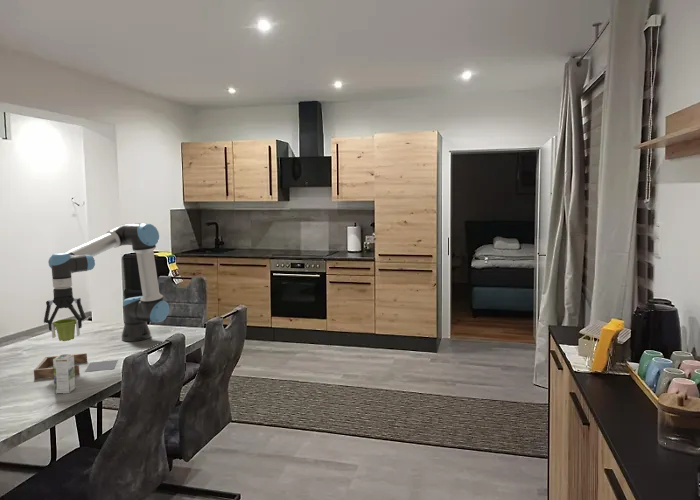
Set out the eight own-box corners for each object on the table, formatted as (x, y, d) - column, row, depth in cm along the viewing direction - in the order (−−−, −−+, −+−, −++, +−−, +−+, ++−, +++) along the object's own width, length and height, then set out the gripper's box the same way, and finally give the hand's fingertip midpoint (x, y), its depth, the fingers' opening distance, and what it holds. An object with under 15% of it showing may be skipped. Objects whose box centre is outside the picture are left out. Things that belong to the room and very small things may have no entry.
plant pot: (54, 343, 231) (52, 324, 230) (55, 338, 240) (53, 320, 239) (78, 340, 235) (76, 321, 235) (78, 335, 244) (76, 317, 243)
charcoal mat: (117, 360, 251) (117, 359, 251) (113, 368, 238) (113, 368, 238) (90, 362, 248) (90, 362, 248) (84, 371, 234) (84, 371, 234)
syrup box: (61, 389, 213) (58, 354, 212) (76, 388, 214) (73, 353, 212) (54, 394, 208) (52, 358, 206) (70, 393, 208) (67, 358, 207)
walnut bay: (87, 361, 250) (86, 353, 250) (79, 374, 231) (78, 365, 231) (46, 365, 245) (45, 357, 245) (34, 379, 226) (33, 370, 225)
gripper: (32, 290, 228) (36, 340, 231) (88, 287, 235) (91, 335, 237) (37, 287, 235) (41, 336, 238) (91, 284, 242) (94, 332, 244)
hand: (66, 336), depth 237 cm, fingers closed on plant pot, 9 cm apart
